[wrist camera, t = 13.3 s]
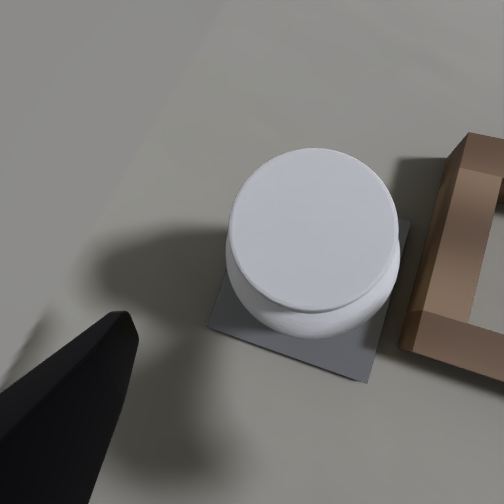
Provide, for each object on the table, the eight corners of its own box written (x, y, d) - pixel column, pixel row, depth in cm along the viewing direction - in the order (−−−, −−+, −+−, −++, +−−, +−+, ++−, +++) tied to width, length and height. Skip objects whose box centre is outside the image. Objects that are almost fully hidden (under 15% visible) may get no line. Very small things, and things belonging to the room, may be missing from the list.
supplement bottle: (240, 315, 18) (168, 305, 9) (270, 214, 19) (234, 103, 9) (349, 348, 17) (404, 378, 8) (376, 239, 18) (456, 143, 8)
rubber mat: (365, 381, 17) (367, 383, 17) (209, 326, 19) (206, 326, 18) (407, 224, 18) (411, 221, 18) (258, 185, 20) (256, 180, 19)
